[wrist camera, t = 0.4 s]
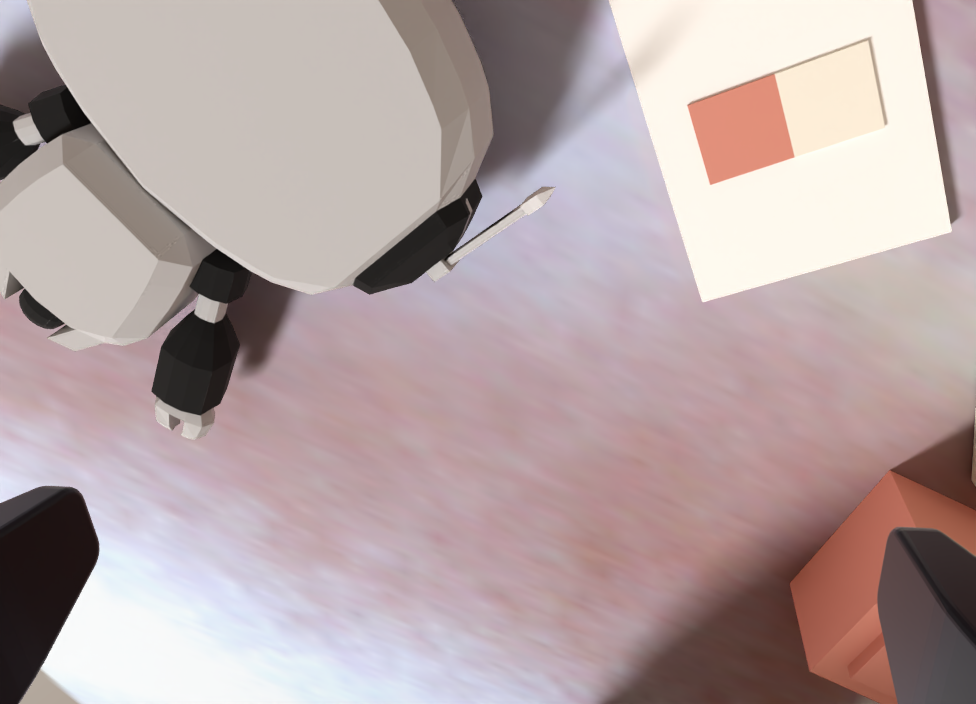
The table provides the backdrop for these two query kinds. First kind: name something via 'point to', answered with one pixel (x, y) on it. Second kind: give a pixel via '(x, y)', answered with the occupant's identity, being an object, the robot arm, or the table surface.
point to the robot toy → (236, 168)
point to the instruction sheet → (786, 131)
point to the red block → (866, 583)
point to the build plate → (974, 456)
